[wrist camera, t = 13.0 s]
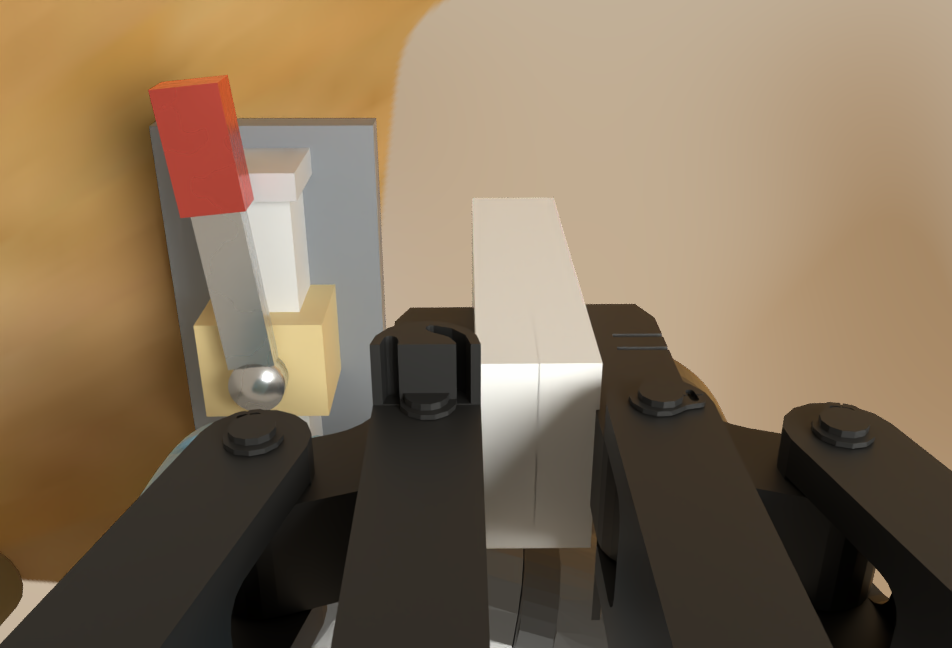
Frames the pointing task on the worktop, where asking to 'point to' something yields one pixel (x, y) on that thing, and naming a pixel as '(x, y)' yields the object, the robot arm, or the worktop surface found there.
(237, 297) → the lever
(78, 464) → the worktop surface
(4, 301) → the worktop surface
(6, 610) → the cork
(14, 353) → the worktop surface
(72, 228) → the worktop surface
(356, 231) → the valve board
